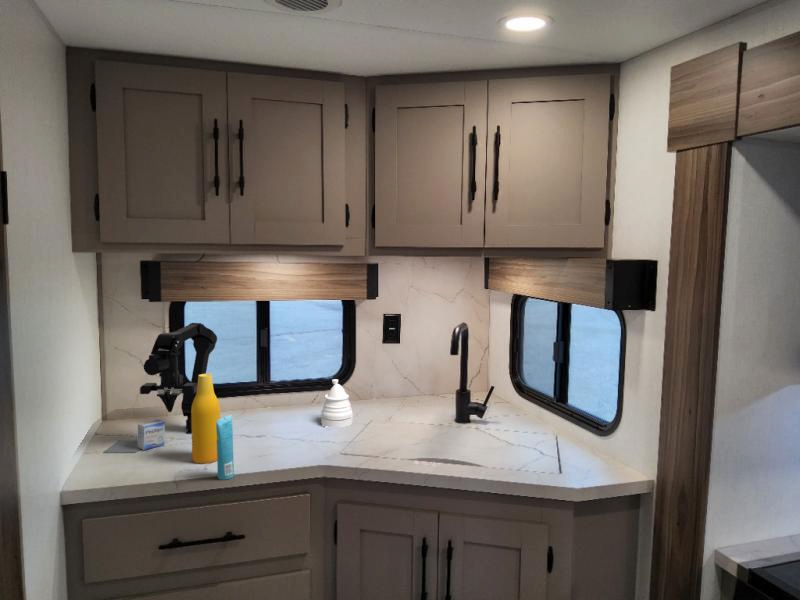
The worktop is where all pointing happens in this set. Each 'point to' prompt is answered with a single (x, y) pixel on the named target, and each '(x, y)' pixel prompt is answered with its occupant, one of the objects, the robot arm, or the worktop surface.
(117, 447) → the rubber mat
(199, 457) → the beer bottle
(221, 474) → the tube
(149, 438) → the medicine box
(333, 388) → the honey pot
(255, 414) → the worktop surface
